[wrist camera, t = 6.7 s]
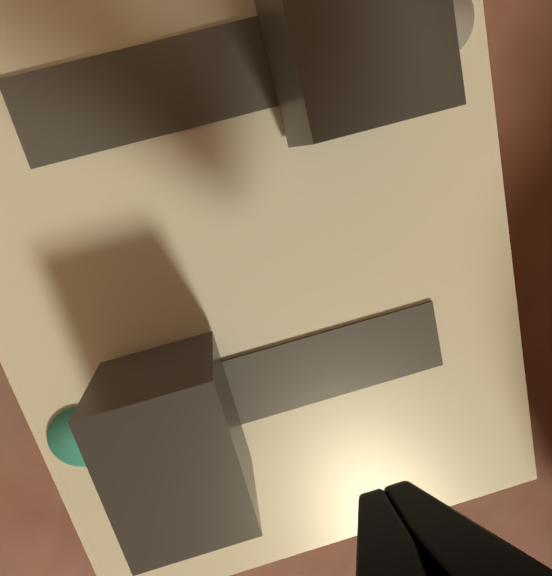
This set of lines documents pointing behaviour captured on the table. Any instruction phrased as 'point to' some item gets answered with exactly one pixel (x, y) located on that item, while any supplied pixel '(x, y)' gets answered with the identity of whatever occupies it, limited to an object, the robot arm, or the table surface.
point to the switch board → (255, 265)
